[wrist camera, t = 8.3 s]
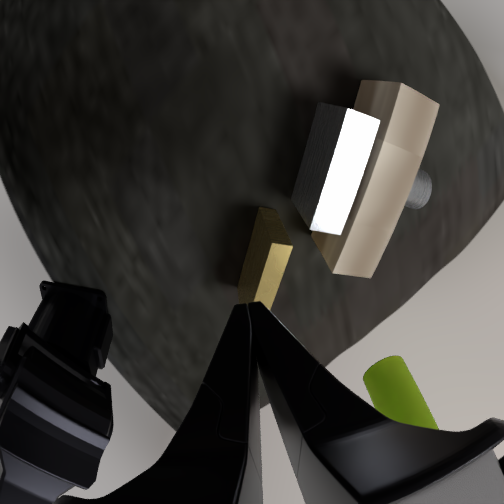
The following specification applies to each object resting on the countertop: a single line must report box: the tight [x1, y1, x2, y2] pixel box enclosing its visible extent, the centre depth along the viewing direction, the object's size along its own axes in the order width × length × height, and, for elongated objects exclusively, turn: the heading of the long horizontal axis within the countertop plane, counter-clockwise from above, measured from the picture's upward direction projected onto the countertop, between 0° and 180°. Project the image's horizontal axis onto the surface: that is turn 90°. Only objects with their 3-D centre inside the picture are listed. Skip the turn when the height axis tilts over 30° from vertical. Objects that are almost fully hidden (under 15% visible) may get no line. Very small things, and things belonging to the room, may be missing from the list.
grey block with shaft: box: [291, 102, 432, 235], centre depth 18 cm, size 9×7×5 cm
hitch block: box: [311, 80, 439, 278], centre depth 18 cm, size 3×12×5 cm, turn 166°
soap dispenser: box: [363, 356, 439, 430], centre depth 26 cm, size 6×7×20 cm
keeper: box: [237, 207, 293, 310], centre depth 20 cm, size 1×7×5 cm, turn 166°
